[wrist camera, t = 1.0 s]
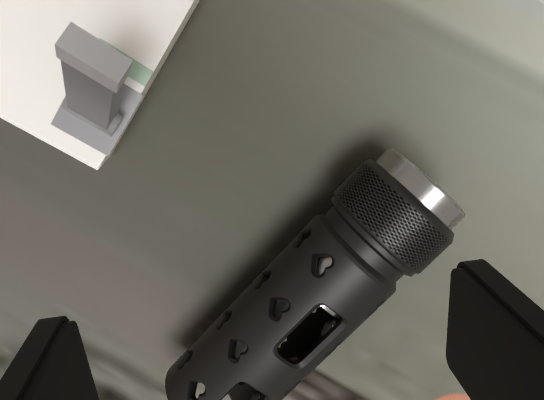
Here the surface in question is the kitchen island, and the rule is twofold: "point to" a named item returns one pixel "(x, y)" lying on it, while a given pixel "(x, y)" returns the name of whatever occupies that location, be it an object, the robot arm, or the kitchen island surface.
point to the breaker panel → (48, 72)
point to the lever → (92, 78)
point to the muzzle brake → (321, 284)
